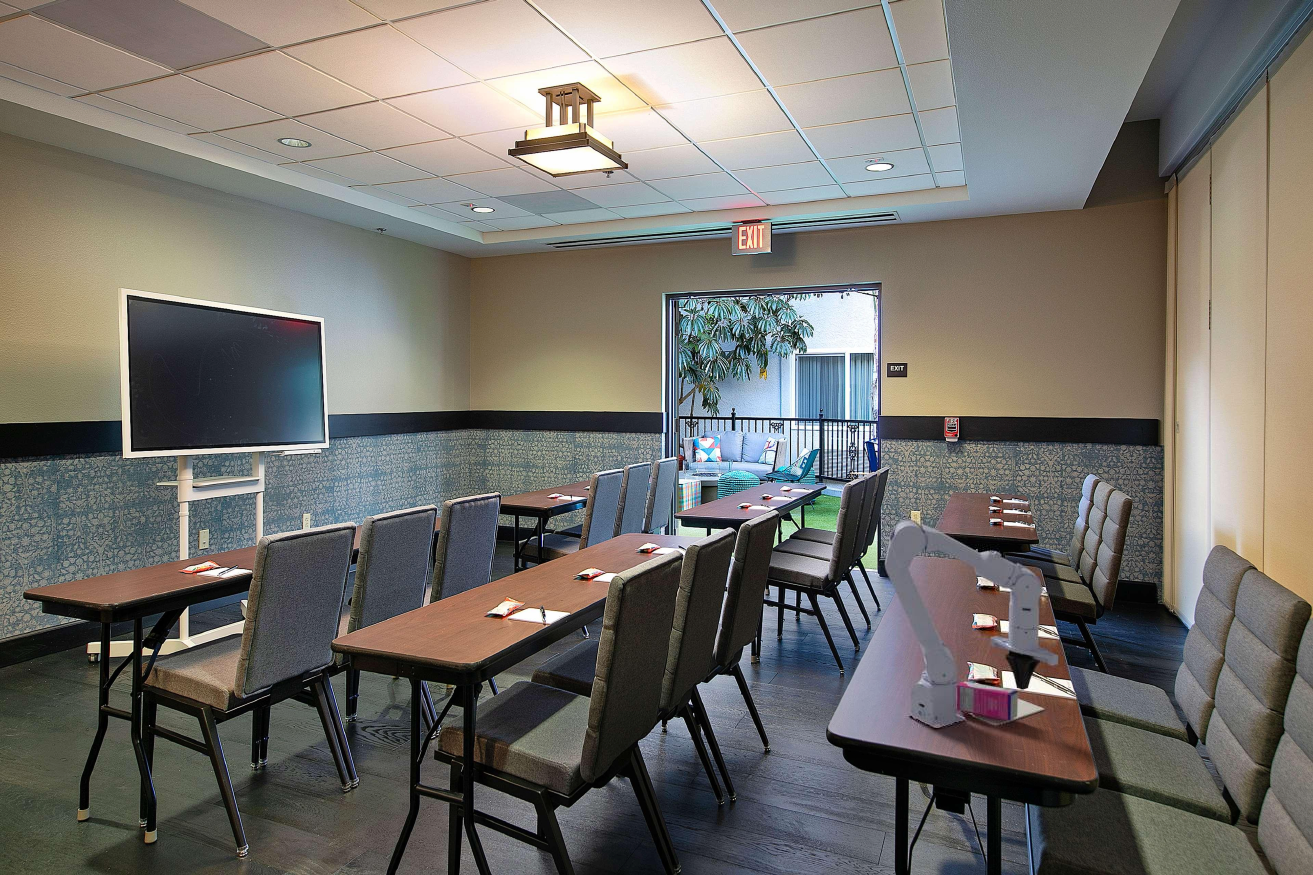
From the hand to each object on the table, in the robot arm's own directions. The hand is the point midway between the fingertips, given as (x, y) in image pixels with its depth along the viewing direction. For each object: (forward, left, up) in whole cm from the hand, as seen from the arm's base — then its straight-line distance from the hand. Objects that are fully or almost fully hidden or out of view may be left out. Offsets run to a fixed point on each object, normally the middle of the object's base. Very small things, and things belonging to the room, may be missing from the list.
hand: (1022, 687), depth 161 cm
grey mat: (+4, +12, -8) cm, 15 cm away
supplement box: (0, +1, -4) cm, 5 cm away
